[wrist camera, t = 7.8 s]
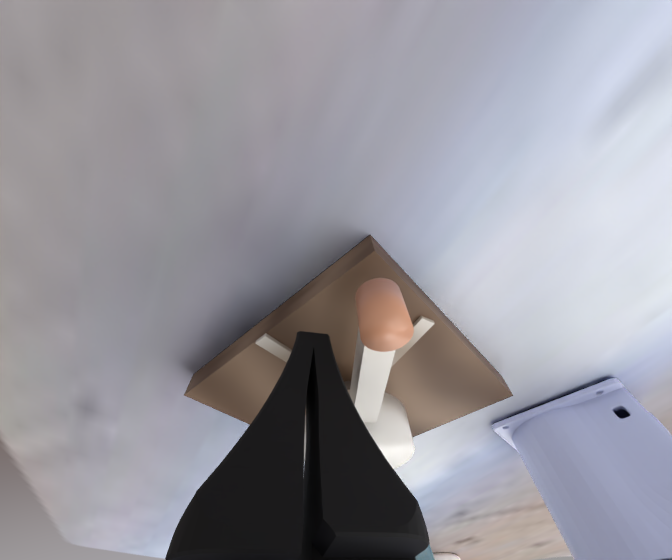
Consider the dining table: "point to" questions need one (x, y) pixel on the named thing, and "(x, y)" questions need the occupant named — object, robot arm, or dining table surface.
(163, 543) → the dining table surface
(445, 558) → the mug
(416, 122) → the dining table surface
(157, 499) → the dining table surface
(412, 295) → the strip board
